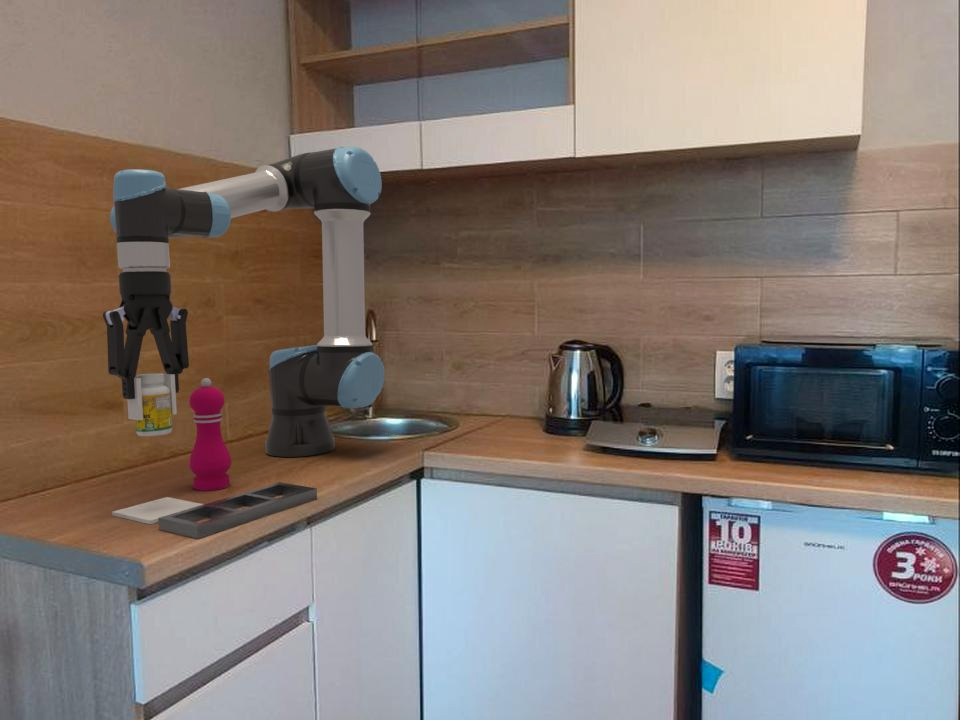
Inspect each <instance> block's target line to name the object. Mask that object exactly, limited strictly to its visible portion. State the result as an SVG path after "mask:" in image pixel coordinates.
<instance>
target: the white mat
mask: <svg viewBox="0 0 960 720" xmlns="http://www.w3.org/2000/svg"><path fill="white" fill-rule="evenodd" d="M200 505H204V503H199V502H194V501H188V500H185V499H180V498H179V499H178V498H174V497H170V496H169V497H168V496H166V497H162V498H158V499H155V500H151V501H147V502H142V503H140V504H136V505H135V504H134V505H133V506H129V507H125V508H121V509H117V510H114V511H112V512H111V514H112V516H114V517H117V518H122V519H126V520H131V521H134V522H138V523H143V524H147V525H153V524H156V523H159V522H158V518H159V517H163V516H166V515H170V514H173V513H177V512H180V511H183V510H187V509H190V508H194V507H197V506H200Z"/></svg>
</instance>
